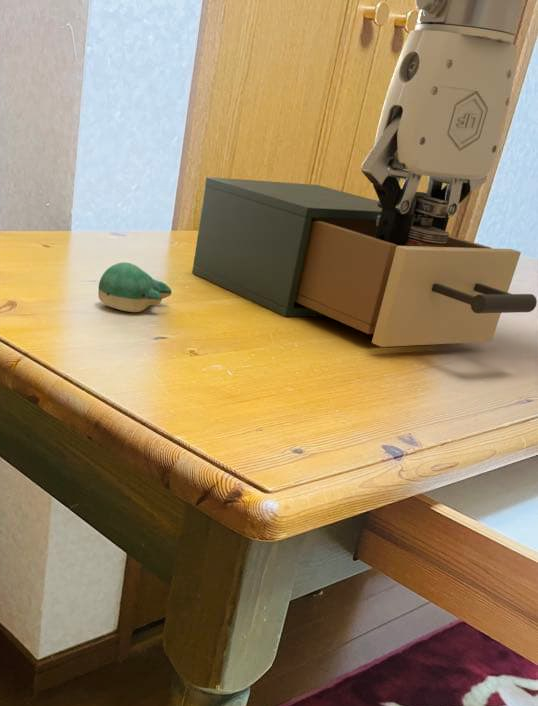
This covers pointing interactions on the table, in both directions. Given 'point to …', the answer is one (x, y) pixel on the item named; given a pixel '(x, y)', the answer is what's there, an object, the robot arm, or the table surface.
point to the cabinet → (266, 236)
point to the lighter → (425, 221)
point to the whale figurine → (130, 288)
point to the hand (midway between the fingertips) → (403, 257)
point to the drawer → (407, 285)
